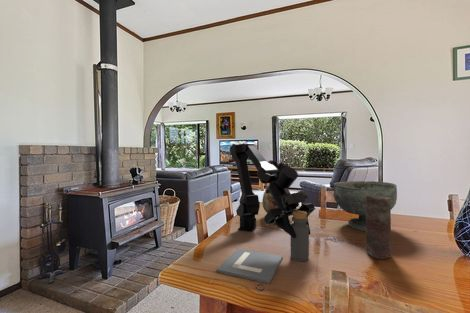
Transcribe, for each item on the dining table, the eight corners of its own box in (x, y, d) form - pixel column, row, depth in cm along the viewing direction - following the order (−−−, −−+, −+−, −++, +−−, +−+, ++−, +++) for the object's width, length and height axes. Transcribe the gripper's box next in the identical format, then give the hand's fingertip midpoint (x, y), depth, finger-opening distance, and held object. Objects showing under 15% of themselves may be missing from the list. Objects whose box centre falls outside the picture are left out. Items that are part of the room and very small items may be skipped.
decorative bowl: (408, 239, 93) (406, 187, 93) (336, 233, 101) (335, 186, 102) (388, 222, 118) (387, 181, 118) (332, 218, 126) (331, 180, 127)
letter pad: (216, 271, 71) (216, 268, 71) (237, 250, 86) (237, 248, 86) (269, 283, 65) (269, 280, 65) (282, 258, 79) (282, 255, 79)
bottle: (309, 254, 82) (309, 210, 81) (308, 262, 76) (308, 215, 76) (291, 252, 84) (291, 209, 83) (289, 259, 78) (289, 214, 78)
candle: (360, 250, 85) (361, 193, 84) (380, 249, 86) (381, 193, 85) (375, 260, 77) (375, 198, 77) (396, 259, 78) (397, 197, 77)
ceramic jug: (274, 212, 136) (274, 159, 135) (298, 217, 125) (298, 159, 124) (254, 218, 125) (253, 160, 124) (278, 225, 113) (278, 161, 112)
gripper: (269, 184, 78) (292, 228, 69) (311, 180, 87) (337, 218, 78) (256, 204, 85) (275, 245, 76) (296, 198, 94) (318, 235, 85)
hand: (302, 235), depth 79 cm, fingers closed on bottle, 6 cm apart
